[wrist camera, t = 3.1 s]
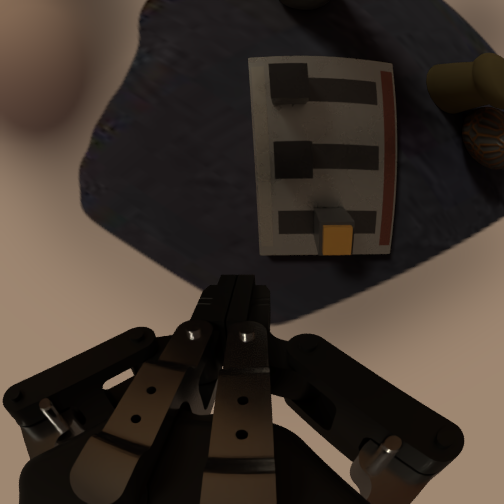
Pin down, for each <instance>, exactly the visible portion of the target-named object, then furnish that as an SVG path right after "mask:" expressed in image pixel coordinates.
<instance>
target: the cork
mask: <svg viewBox="0 0 504 504" xmlns="http://www.w3.org/2000/svg"><path fill="white" fill-rule="evenodd" d="M426 83H427V89H428V92H429V94H430V97H431V98H432V100H433V101H434V103H435V104H436V105H437V106H438V107H439V108H440V109H441V110H443V111H445V112H447V113H450V114H456V113H459V112H463V111H466V110H470V109H473V108H477V107H480V106H484V105H488V104H490V105H491V106H493V107H495V108H499V109H504V58H502V57H501V56H499V55H496V54H494V53H484V54H481V55H480V56H479V57H477V58H476V59H475V60H474V62H461V63H448V64H439V65H434V66H433V67H432V68H430V70H429V72H428V74H427V80H426Z"/></svg>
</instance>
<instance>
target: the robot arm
mask: <svg viewBox="0 0 504 504" xmlns="http://www.w3.org/2000/svg"><path fill="white" fill-rule="evenodd" d="M222 366H223V369H222ZM130 368H131V369H132V372H133V374H134V376H133V377H131V378H129V379H127V380H125V381H123V382H122V383H120V384H118V385H116V386H114V387H112V388H110V389H107V390H105V389H102V388H103V384H104V383H105V382H106V381H107V380H109V379H111V378H113V377H115V376H116V375H118V374H120V373H122V372H124V371H126V370H128V369H130ZM271 394H273V395H276V396H280V397H284V399H285V402H286V403H287V405H288V406H290V407H291V408H292V409H293V410H294V411H295V412H296V413H297V414H298V415H299V416H300V417H301V418H302V419H303V420H305V421H306V422H307V423H308V424H309V425H310V426H311V427H312V428H313V429H314V430H316V431H317V432H318V433H319V434H320V435H322V437H324V438H325V439H326V440H327V441H328V442H329V443H330V444H332V445H333V446H334V447H335V448H336V449H338V450H339V451H340V452H341V453H342V454H344V455H345V456H346V457H347V458H348V459H350V460H351V461H352V462H353V463H352V466H351V468H350V476H351V478H352V480H353V482H354V483H355V484H356V485H357V486H358V488H359V490H360V494H361V495H360V494H359V493H358V492H357V491H356V490H355V489H353V488H352V487H351V486H350V485H349V484H348V483H347V482H346V481H344V480H343V479H342V478H341V477H340V476H339V475H338V474H337V473H336V472H335V471H333V470H332V469H331V468H330V467H329V466H328V465H327V464H326V463H325V462H324V461H323V460H322V459H321V458H320V457H319V456H318V455H317V454H316V453H315V452H314V451H313V450H312V449H311V448H310V447H309V446H308V445H307V444H306V443H305V442H304V441H303V440H302V439H301V438H299V437H298V436H297V435H296V434H295V433H293V432H291V431H290V430H288V429H286V428H284V427H282V426H279V425H276V424H273V423H272V404H271ZM214 401H215V406H214V414H210V413H211V410H212V407H213V404H214ZM3 405H4V407H5V408H6V410H7V411H8V412H9V413H10V414H11V416H12V417H13V418H14V419H15V420H16V422H17V424H18V425H19V426H20V427H21V430H22V434H23V438H24V441H25V444H26V447H27V451H28V454H29V456H30V461H28V462H27V463H26V465H25V466H24V468H23V469H22V472H21V474H20V479H19V504H410V503H411V502H412V501H413V500H414V499H415V498H416V496H417V495H418V494H419V493H420V492H421V490H422V489H423V488H424V487H425V485H426V484H427V483H428V482H429V481H430V480H431V479H432V478H433V477H435V476H436V475H437V474H438V473H439V472H441V471H442V470H443V469H444V468H445V467H446V466H447V465H448V464H449V463H451V462H452V461H453V460H454V459H455V458H456V457H457V456H458V455H459V454H460V452H461V451H462V449H463V446H464V435H463V433H462V431H461V429H460V428H459V427H458V426H457V425H456V424H454V423H453V422H451V421H449V420H448V419H446V418H445V417H443V416H441V415H440V414H438V413H436V412H435V411H433V410H431V409H430V408H428V407H427V406H425V405H423V404H422V403H420V402H419V401H417V400H416V399H414V398H412V397H411V396H409V395H408V394H406V393H405V392H403V391H401V390H400V389H398V388H397V387H395V386H394V385H392V384H391V383H389V382H388V381H386V380H384V379H383V378H381V377H380V376H378V375H377V374H375V373H374V372H372V371H371V370H369V369H368V368H366V367H365V366H363V365H362V364H360V363H359V362H357V361H356V360H354V359H353V358H351V357H350V356H348V355H347V354H345V353H344V352H342V351H341V350H339V349H338V348H336V347H335V346H333V345H332V344H331V343H329V342H327V341H326V340H325V339H323V338H322V337H320V336H317V335H314V334H300V335H297V336H294V337H293V338H291V339H290V340H289V341H285V340H281V339H278V338H276V337H275V336H273V335H272V334H271V333H270V291H269V289H268V288H267V287H266V285H255V275H221V277H220V279H219V282H218V285H210V286H208V287H207V288H206V289H205V290H203V292H202V294H201V297H200V299H199V301H198V304H197V306H196V308H195V310H194V313H193V315H192V317H191V319H190V320H189V321H186V322H184V323H182V324H181V325H179V326H178V327H177V329H176V331H175V332H174V334H173V335H169V336H162V337H156V336H155V333H154V331H152V329H149V328H147V327H136V328H132V329H130V330H128V331H126V332H124V333H122V334H120V335H118V336H116V337H114V338H112V339H109V340H107V341H105V342H103V343H101V344H99V345H97V346H95V347H93V348H91V349H89V350H87V351H85V352H83V353H81V354H79V355H76V356H74V357H72V358H70V359H68V360H66V361H64V362H62V363H60V364H57V365H55V366H53V367H51V368H49V369H47V370H45V371H43V372H41V373H38V374H36V375H34V376H32V377H30V378H28V379H26V380H23V381H21V382H19V383H17V384H15V385H13V386H11V387H10V388H9V389H8V390H7V391H6V392H5V394H4V397H3Z"/></svg>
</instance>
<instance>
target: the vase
mask: <svg viewBox="0 0 504 504" xmlns="http://www.w3.org/2000/svg"><path fill="white" fill-rule="evenodd" d="M462 137H463V142H464V145H465V147H466V149H467V151H468V153H469V154H470V155H471V156H472V158H473V159H475V160H476V161H477V162H478V163H480V164H481V165H483V166H485V167H488V168H491V169H504V112H503V111H501V110H499V109H496V108H493V107H481V108H477V109H475V110H473V111H471V112H470V113H469V114H468V115H467V117H466V118H465V120H464V123H463V127H462Z"/></svg>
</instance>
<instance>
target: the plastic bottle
mask: <svg viewBox="0 0 504 504" xmlns="http://www.w3.org/2000/svg"><path fill="white" fill-rule="evenodd" d="M279 1H280V2H281V3H283V4H284V5H286V6H288V7H291V8H294V9H300V10H312V9H316V8H320V7H322V6H324V5H325V4H326V3H328V2H329V0H279Z"/></svg>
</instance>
